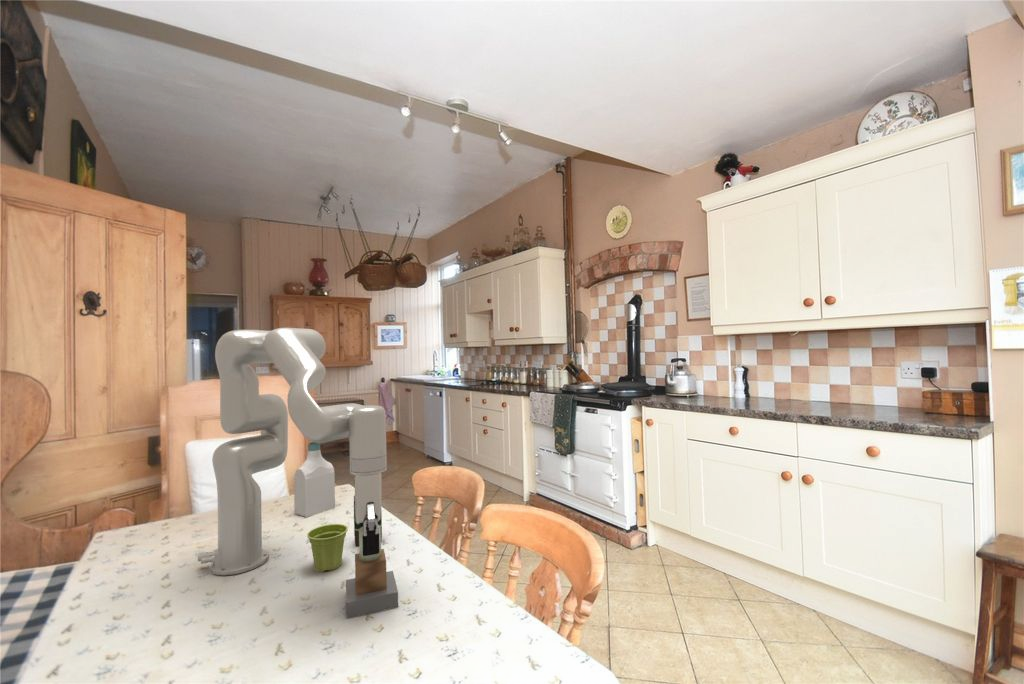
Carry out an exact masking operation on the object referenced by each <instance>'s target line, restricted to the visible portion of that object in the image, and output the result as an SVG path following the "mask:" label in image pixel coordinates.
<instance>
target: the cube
mask: <svg viewBox="0 0 1024 684" xmlns="http://www.w3.org/2000/svg"><path fill="white" fill-rule="evenodd" d="M386 557H387V556H386V553H385V549H384V548H381V557H380V558H379V559H377V560H374V561H369V562H364V561H361V560H360V559H359V552H358V553H354V569H355V570H354V573H355V574H354V575H355V583H356V596H358V595H362V594H367V593H372V592H377V591H381V590H386V589H387V577H386V572H387V558H386Z"/></svg>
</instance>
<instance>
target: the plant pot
mask: <svg viewBox="0 0 1024 684" xmlns="http://www.w3.org/2000/svg"><path fill="white" fill-rule="evenodd" d="M348 531H349V528H348V526H347V525H345V524H343V523H342V524H341V523H331V524H330V523H329V524H325V525H321V526H317V527H314V528H312V529H311V530H309V531H308V533H307V534H306V537H307V538H308V540H309V543H310V546H311V553H312V557H313V558H312V559H313V560H312V561H313V565H314V570H315V571H317V572H325V571H333V570H335V569H337V568H338V569H339V567H340V566H341V564H342V561H343V551H344V543H345V538H346V536H347V535H346V534H347V532H348Z"/></svg>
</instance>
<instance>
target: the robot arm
mask: <svg viewBox="0 0 1024 684" xmlns="http://www.w3.org/2000/svg"><path fill="white" fill-rule="evenodd" d="M326 347H327V344H326V341H325V338H324V337H323V335H322V334H321V333H320V332H318V331H317V330H315V329H311V328H298V327H297V328H296V327H279V328H278V327H277V328H275V329H272V330H264V329H263V330H261V329H234V330H230V331H227V332H225V333H224V334H222V335H221V336H220V338H219V339H218V341H217V343H216V346H215V351H214V354H215V355H214V357H215V364H216V368H217V371H218V376H219V381H220V382H219V383H220V387H219V393H220V395H219V398H220V399H219V400H220V401H219V413H220V414H219V419H220V420H219V421H220V426H221V429H222V431H224V432H225V433H227V434H230V435H239V434H241V435H242V434H247V433H248V434H249V433H254V432H260V434H259V435H255V436H254V435H253V436H247V437H241V438H236V439H232V440H228V441H226V442H224V443H221V444H220V445H218V446H217V447H216V449H215V450H214V451H213V453H212V461H211V462H212V466H213V467H212V468H213V472H214V475H215V482H216V489H217V490H216V492H217V549H216V548H215V549H214V550H213V551H205V552H201V553H200V552H199V553H198V554H197V555H198V556H197V562H198V563H199V562H200V564H201V565H202V564H208V563H212V564H211V565H210V572H211V573H212V574H214V575H217V576H231V575H232V576H234V575H237V574H241V573H245V572H249V571H251V570H255V569H257V568H258V567H260V566H262V565H264V564H265V563H266V562H267V561H268V560H269V558H270V555H269V551H268V550H266V549H263V544H262V543H263V536H262V533H263V531H262V530H263V529H262V527H263V526H262V521H263V520H262V519H263V518H262V490H261V487H260V485H259V484H258V483H257V481H256V480H255V479H254V477H253V474H254V475H255V474H258V473H260V472H261V473H262V472H265V471H268V470H272V469H275V468H278V467H280V466H281V465H282V464H284V462H285V461H286V458H287V456H288V449H289V447H288V446H289V445H288V443H289V441H288V440H289V436H288V434H289V433H288V431H289V429H288V428H289V426H288V425H289V417H290V419H291V420H292V423H294V425H295V427H296V428H297V429H298V430H299V431H300V433H301V434H302V436H303V437H304V438H306V439H307V440H308V441H310V443H311V442H314V443H320V444H324V443H328V442H329V443H330V442H332V441H337V440H342V439H347V438H348V440H349V441H348V442H349V473H350V474H351V475H352V476H354V495H355V519H356V523H357V524H359V523H361V527H363V526H364V535H362V538H363V556H368V555H374V554H378V553H379V533H378V521H379V520H380V519H381V513H382V473H383V472H386V471H387V470H388V464H387V463H388V460H387V455H388V454H387V413H386V410H385V408H384V407H383V406H381V405H373V404H372V405H370V404H369V405H362V404H359V403H354V402H353V403H352V402H351V403H343V404H341V403H340V404H334V405H326V406H319V404H318V403H317V402H316V401H315V399H314V398H313V396H311V393H310V392H311V391H312V390H313V389H315V388H316V387H317V386H318V385H320V384H321V383H322V381H323V380H324V378H325V376H326V373H327V371H326V367H325V365H324V364H323V363H322V362H321V359H322V358H323V357H324V355H325V353H326V349H327V348H326ZM250 364H273V365H274V367H275V368H276V369H277V371H278V372H279V373H280V375H281V376H282V377H283V378H284V380H285V381H286V383H288V385H289V389H288V393H287V398H286V399H287V405H286V402H285V401H284V400H283V398H282V397H281V396H279V395H278V394H274V393H265V394H263V393H262V394H260V390H259V389H260V379H259V376H258V375H257V373H256V370H255V369H254V368H253V367H252V366H251V365H250ZM288 413H289V414H288ZM288 415H289V416H288ZM366 525H367V527H366Z"/></svg>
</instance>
